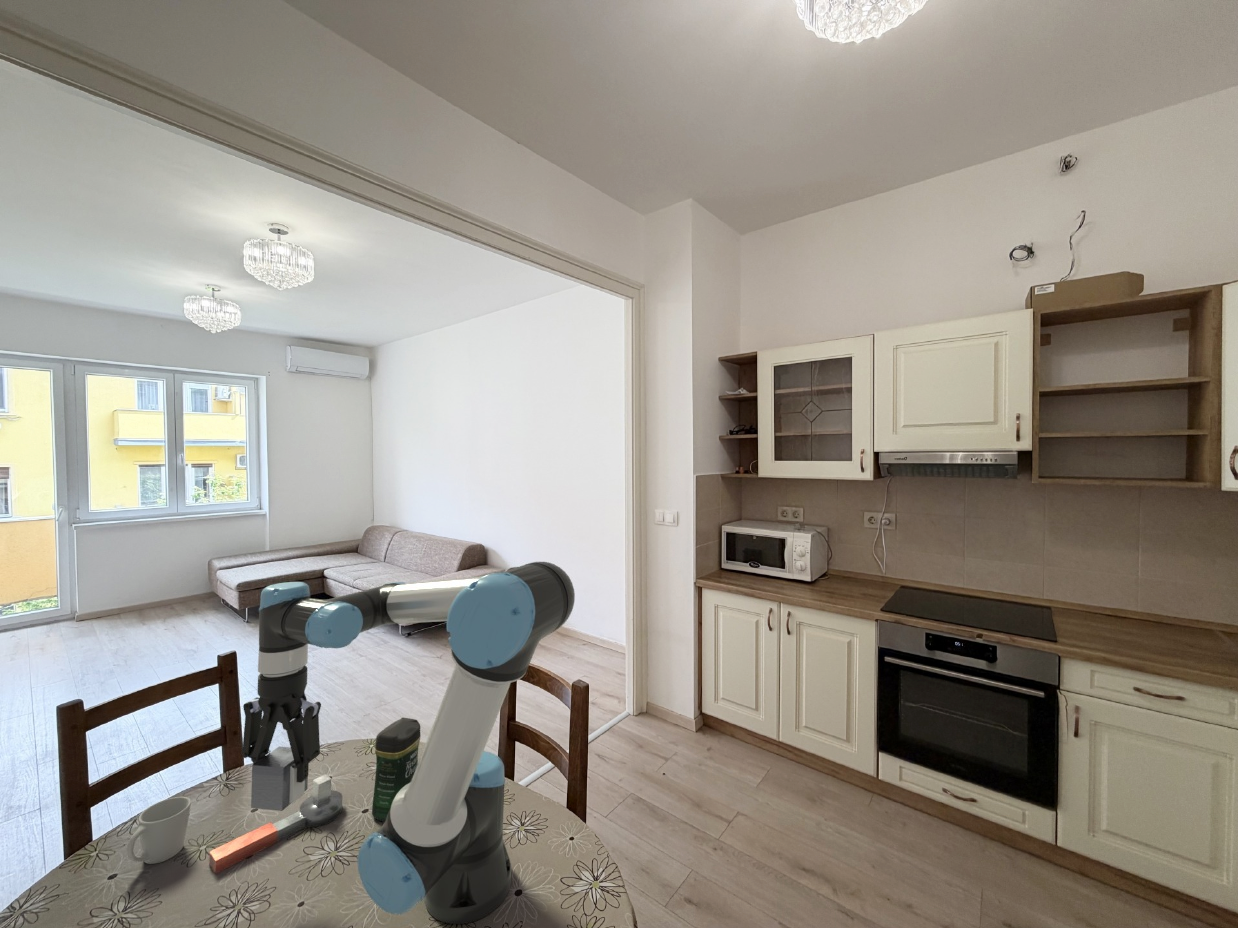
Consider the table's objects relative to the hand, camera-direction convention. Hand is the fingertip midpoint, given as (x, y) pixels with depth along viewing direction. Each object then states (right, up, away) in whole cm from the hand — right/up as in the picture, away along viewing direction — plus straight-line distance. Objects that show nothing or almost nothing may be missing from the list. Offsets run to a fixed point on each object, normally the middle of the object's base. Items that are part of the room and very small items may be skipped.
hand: (280, 796), depth 90 cm
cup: (-27, -15, +5) cm, 32 cm away
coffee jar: (+12, -17, +20) cm, 29 cm away
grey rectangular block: (0, 0, 0) cm, 0 cm away
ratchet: (-8, -16, +12) cm, 21 cm away
